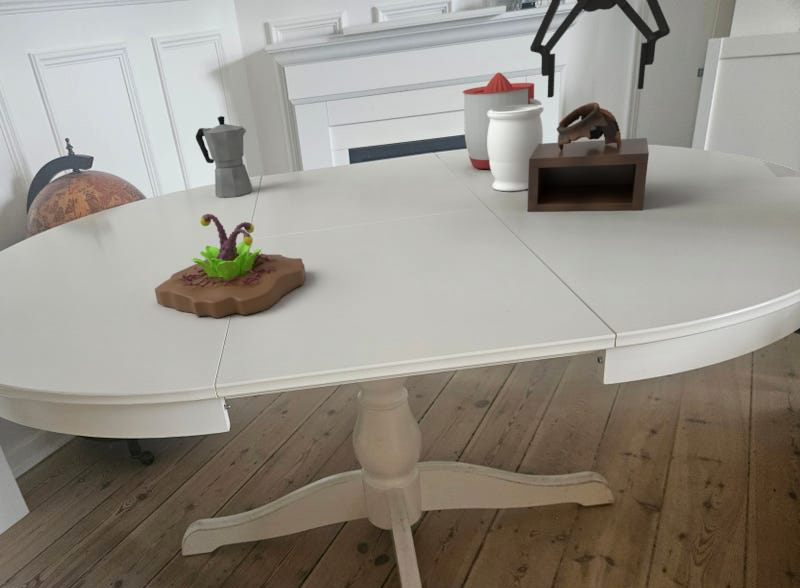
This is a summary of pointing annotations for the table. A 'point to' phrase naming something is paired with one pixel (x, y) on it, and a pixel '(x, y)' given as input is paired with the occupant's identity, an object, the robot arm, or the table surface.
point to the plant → (231, 278)
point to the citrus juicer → (481, 102)
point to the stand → (588, 176)
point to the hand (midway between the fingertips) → (594, 92)
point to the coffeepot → (226, 158)
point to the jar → (513, 144)
